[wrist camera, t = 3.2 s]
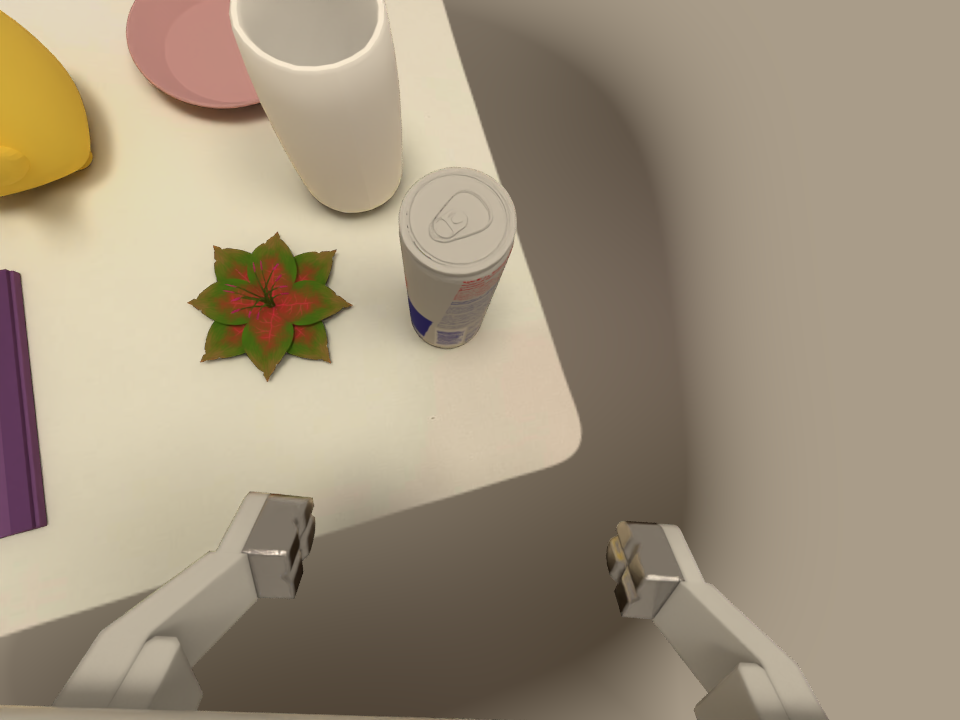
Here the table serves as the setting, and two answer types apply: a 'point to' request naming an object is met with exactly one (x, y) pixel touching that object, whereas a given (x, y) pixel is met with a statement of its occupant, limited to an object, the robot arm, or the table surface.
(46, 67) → the teapot
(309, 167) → the cup
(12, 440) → the purple closed book
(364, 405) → the table surface
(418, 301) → the beverage can
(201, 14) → the plate
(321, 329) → the lily flower
